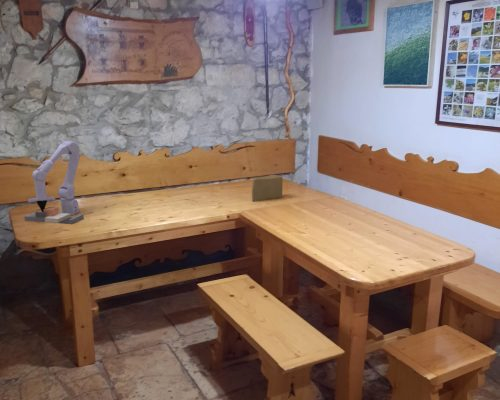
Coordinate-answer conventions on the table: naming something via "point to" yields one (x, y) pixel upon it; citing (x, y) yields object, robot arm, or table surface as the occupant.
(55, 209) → the block
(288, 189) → the table surface
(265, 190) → the olive upright slab
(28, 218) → the tunnel deck
